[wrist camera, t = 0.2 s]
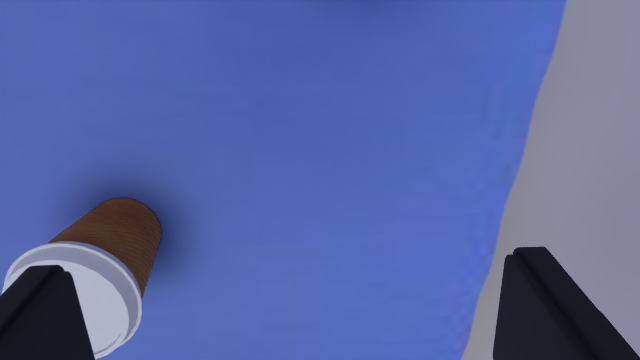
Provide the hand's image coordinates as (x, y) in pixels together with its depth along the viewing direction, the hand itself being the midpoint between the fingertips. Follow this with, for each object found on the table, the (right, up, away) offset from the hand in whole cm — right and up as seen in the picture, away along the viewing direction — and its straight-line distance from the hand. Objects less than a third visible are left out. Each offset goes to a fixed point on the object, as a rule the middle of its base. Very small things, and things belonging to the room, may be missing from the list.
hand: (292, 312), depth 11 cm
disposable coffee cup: (-17, -1, +34) cm, 38 cm away
